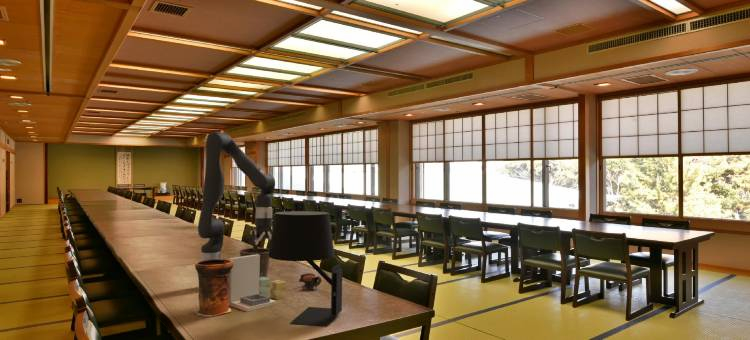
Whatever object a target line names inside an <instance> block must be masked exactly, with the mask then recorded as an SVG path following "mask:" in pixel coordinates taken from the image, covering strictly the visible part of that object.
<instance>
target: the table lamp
mask: <svg viewBox="0 0 750 340" xmlns="http://www.w3.org/2000/svg"><path fill="white" fill-rule="evenodd" d="M272 228H273V230H272V232H271V235H272V236H271V243H270V242H269V243H270V249H269V248H268V249H269V255H268V257H269V259H272V260H275V261H276V260H277V261H281V262H282V261H284V262H306V263H308V264H309V266H311V267H312V268H313V270H315V271H316V272H317V273H318V274H319V275H320V276H321V278H323V280H325V281H326V282H327V283H328V285H330V286H331V287H330V288H331V290H330V291H331V297H330V307H318V306H308V307H307V308H306V309H304V310H303V311H302V312H301V313H300V314H298V315H297V316H296V317H295V318H294V319H293V320H292V321H290V323H289V324H290V325H299V326H301V325H302V326H313V327H323V328H325V327H326V328H327V327H329V325H330V324H331V323H332V322H333V321H334V320H335V319H336V317H338V315H339V314H340V313H341V312H342V311H343V308H342V305H343V268H341V262H338V263H337V264H335V265H334V266H333V267H332V268H331V277H330V276H329V275H328V274H327V273H326V272H325V271H324V270H323V269H322V268H321V267H320V266H319V264H317V263H316V261H322V260H323V261H324V260H328V259H329V260H330V259H332V258H333V257H335V249H334V242H333V240H334V239H333V233H332V224H331V217H330V212H328V211H318V210H317V211H316V210H287V211H285V210H284V211H275V213H274V218H273V223H272Z"/></svg>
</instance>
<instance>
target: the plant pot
mask: <svg viewBox="0 0 750 340" xmlns="http://www.w3.org/2000/svg"><path fill="white" fill-rule="evenodd" d="M238 252H239V257H242V256H249V255H256V254H258V255H260V276H259V278H261V277H266V278H268V271H269V264H270V263H269V262H270V258H269V257H268V255H269V248H264V247H258V253H254V252H253V247H249V248H242V249H239V251H238Z"/></svg>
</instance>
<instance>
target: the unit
mask: <svg viewBox="0 0 750 340" xmlns="http://www.w3.org/2000/svg"><path fill="white" fill-rule="evenodd" d="M228 259H229V260H231V261H233V268H232V269H231V271H230V275H229V307H233V308H236V309H239V310H241V311H244V312H247V313H248V312H251V311H252V312H253V311H256V310H259V309H265V308H267V307H272V306H276V305H277V301H276V300H273V299H271V297H270V296H268V295H261V294H259V276H260V255H258V254H256V255H249V256H242V257H240V256H235V257H229V258H228Z"/></svg>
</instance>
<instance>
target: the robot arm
mask: <svg viewBox="0 0 750 340" xmlns="http://www.w3.org/2000/svg"><path fill="white" fill-rule="evenodd" d="M222 152H223V153H225V154H227V156H230V157H231V159H232V160H233V161H234V163H235V165H236V167H237V168H238V169H239V171H241V172H242V173H243V174H244V175H246V177H247V178H248V179H249V181H250V182H251V184H252V185H253V186H254V187H256V188H257V189H259V190H260V193H259V194H258V195H257V196H256V205H255V207H256V208H255V230H254V229H253V230H252V229H250V230H249V234H248V235H249V237H248V244H251V245H252V248H253V252H254V253H258V248H259V242H260V241H261V240H264V239H267V241H268V249H270V243H271V236H272V230H273V195H274V192H275V187H276V180H275V177H274V175H272V174H271V173H263V172H261V167H260V166H259V164H257V163H256V162H255V161H253V160H252V159H251V158H250V157H249V156H248V155H247V154H246V153H245V152H244V151H243V150H242V149H241V148H240V147H239V145H238V144H237V143H236V142H235V141H234V139H233V138H232V137H231V136H230V135H229V134H227V133H225V132H218V131H212V132H210V133H208V135H207V137H206V141H205V170H204V171H205V172H204V179H203V180H204V181H203V191H202V192H203V193H202V200H201V201H202V202H201V209H200V213H199V218H198V219H199V220H198V225H197V232H198V236H199V237H200V238H201V239H208V241H207V242H205V244H203V245H201V248H200V253H201V254H200V261H205V260H213V259H221V260H222V248H223V246H224V235H225V234H224V233H225V225H224V222H223V220H222V219H220V218H213V213H214V210H215V208H216V206H217V204H218V203H219V201H220V200H221V198H222V196H223V194H224V189H225V176H224V172H223V170H222V166H221V163H220V158H221V153H222Z"/></svg>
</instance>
